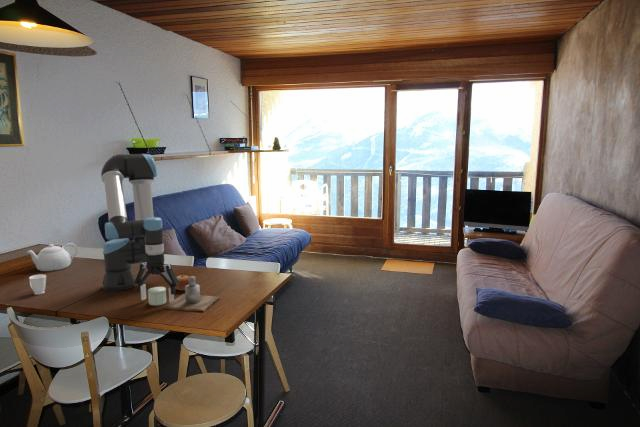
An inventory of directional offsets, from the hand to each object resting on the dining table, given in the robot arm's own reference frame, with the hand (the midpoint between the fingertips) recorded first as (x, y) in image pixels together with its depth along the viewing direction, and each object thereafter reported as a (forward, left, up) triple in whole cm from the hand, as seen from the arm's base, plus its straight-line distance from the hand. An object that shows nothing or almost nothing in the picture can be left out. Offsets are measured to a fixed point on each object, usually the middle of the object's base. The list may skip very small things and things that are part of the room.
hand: (157, 300), depth 193 cm
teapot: (-89, +38, -1) cm, 97 cm away
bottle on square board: (+16, +2, -1) cm, 16 cm away
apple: (+2, +18, -1) cm, 18 cm away
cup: (-63, 0, -1) cm, 63 cm away
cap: (0, 0, -1) cm, 1 cm away
